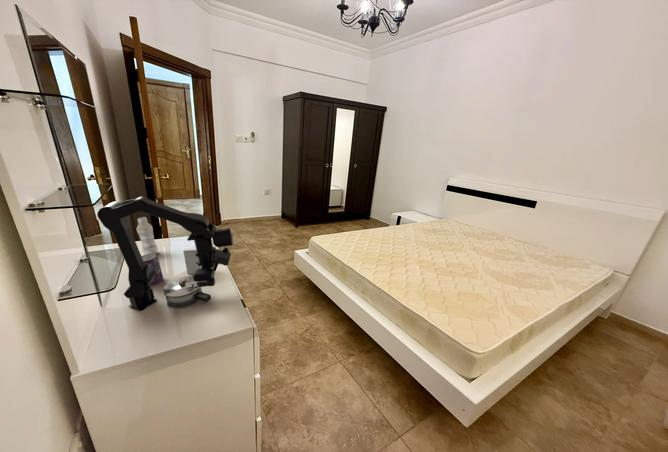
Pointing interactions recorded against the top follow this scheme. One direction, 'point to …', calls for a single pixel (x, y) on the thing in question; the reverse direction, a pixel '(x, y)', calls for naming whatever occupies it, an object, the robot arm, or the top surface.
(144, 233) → the plastic bottle
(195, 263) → the skincare box
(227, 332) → the top surface
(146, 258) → the beverage can
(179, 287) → the lid
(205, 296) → the pot
